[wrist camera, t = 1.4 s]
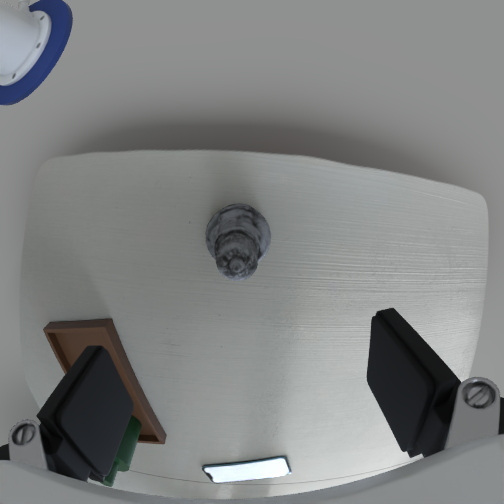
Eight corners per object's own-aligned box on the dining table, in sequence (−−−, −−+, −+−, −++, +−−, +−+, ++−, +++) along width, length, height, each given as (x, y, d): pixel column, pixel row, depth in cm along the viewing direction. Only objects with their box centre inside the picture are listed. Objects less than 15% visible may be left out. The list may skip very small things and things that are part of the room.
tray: (50, 322, 32) (42, 329, 30) (111, 318, 32) (105, 326, 30) (110, 431, 38) (107, 439, 36) (166, 435, 38) (164, 444, 36)
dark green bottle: (107, 410, 36) (80, 470, 24) (134, 411, 36) (111, 477, 23) (120, 429, 37) (99, 487, 25) (146, 431, 37) (129, 494, 25)
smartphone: (285, 454, 41) (200, 465, 41) (286, 456, 40) (200, 467, 41) (291, 471, 43) (213, 481, 43) (292, 473, 42) (213, 483, 43)
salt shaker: (223, 191, 28) (210, 207, 17) (276, 214, 29) (299, 246, 17) (201, 244, 29) (177, 292, 18) (253, 265, 30) (260, 324, 19)
